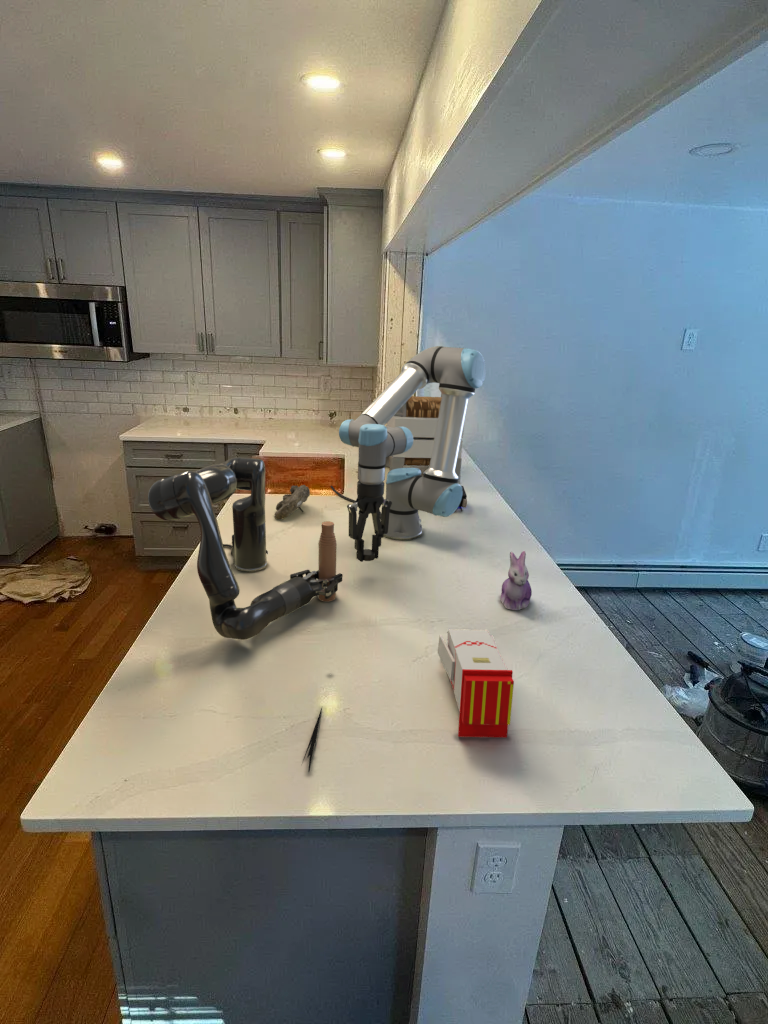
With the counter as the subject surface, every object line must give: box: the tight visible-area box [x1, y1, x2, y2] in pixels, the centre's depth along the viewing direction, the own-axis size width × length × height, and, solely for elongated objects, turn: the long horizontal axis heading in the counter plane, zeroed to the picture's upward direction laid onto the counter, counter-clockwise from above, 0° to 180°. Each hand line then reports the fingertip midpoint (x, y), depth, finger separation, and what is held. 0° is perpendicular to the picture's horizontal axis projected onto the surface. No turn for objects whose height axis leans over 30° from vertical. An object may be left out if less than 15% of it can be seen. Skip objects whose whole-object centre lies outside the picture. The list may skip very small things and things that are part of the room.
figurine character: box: [456, 485, 468, 512], centre depth 228 cm, size 7×8×15 cm
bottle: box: [317, 520, 338, 602], centre depth 151 cm, size 5×5×22 cm
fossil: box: [273, 484, 311, 521], centre depth 215 cm, size 22×10×15 cm
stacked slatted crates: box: [385, 392, 465, 484], centre depth 268 cm, size 34×33×41 cm
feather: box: [301, 673, 332, 771], centre depth 108 cm, size 2×28×2 cm
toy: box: [437, 628, 515, 738], centre depth 117 cm, size 12×13×30 cm
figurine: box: [500, 550, 533, 611], centre depth 153 cm, size 9×10×15 cm
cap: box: [363, 548, 376, 562], centre depth 164 cm, size 4×4×2 cm
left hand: (333, 573), depth 154 cm, fingers closed on bottle, 4 cm apart
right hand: (367, 558), depth 164 cm, fingers closed on cap, 4 cm apart
